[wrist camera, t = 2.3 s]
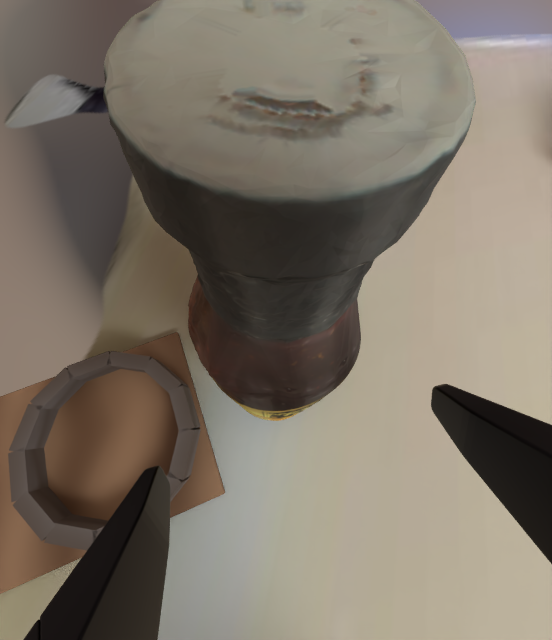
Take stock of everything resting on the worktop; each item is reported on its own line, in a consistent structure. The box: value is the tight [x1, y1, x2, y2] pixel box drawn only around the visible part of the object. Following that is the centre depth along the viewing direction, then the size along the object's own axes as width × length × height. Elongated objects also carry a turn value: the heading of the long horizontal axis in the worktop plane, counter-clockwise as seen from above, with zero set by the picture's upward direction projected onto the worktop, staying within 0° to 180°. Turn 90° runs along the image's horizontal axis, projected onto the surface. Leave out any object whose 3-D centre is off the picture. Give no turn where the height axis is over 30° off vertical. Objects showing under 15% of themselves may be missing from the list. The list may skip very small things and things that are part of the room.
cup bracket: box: [0, 332, 225, 594], centre depth 19 cm, size 18×12×2 cm, turn 112°
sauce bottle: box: [103, 0, 476, 421], centre depth 12 cm, size 6×6×20 cm
